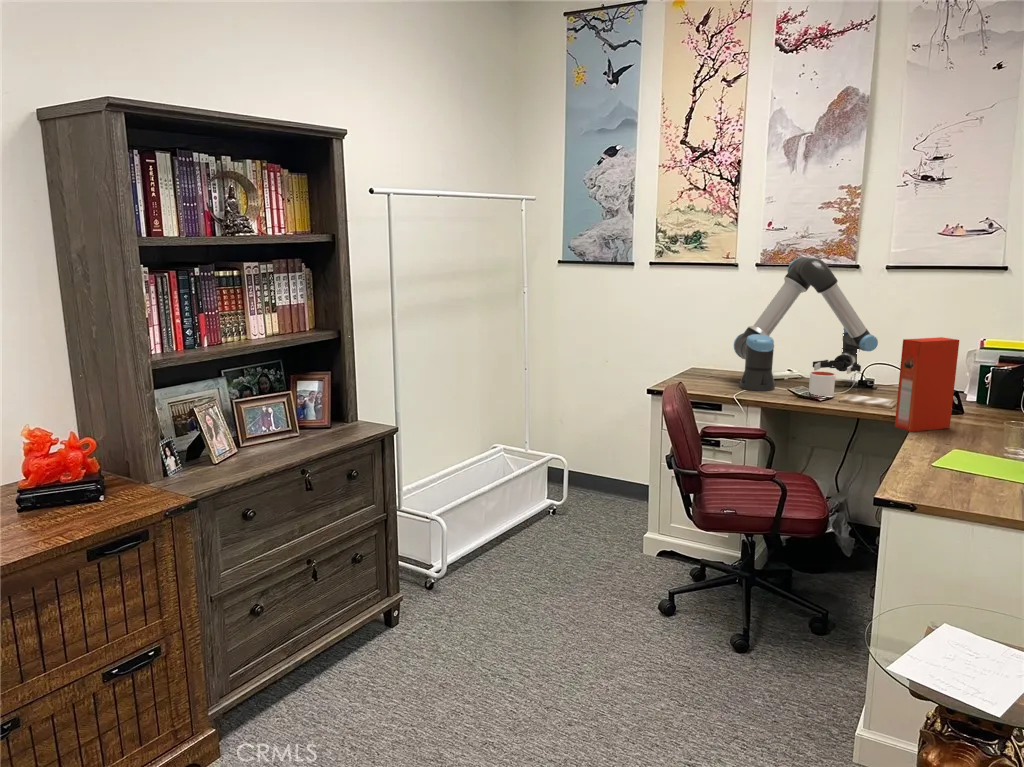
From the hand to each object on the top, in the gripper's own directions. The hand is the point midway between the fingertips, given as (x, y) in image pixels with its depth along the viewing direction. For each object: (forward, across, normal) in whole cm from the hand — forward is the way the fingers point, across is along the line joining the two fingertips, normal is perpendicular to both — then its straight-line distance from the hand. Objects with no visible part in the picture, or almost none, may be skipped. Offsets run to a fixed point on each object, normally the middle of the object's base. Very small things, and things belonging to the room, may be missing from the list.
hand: (831, 369), depth 330 cm
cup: (+11, +1, -10) cm, 15 cm away
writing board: (+11, -18, -10) cm, 24 cm away
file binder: (+43, -43, -11) cm, 62 cm away
